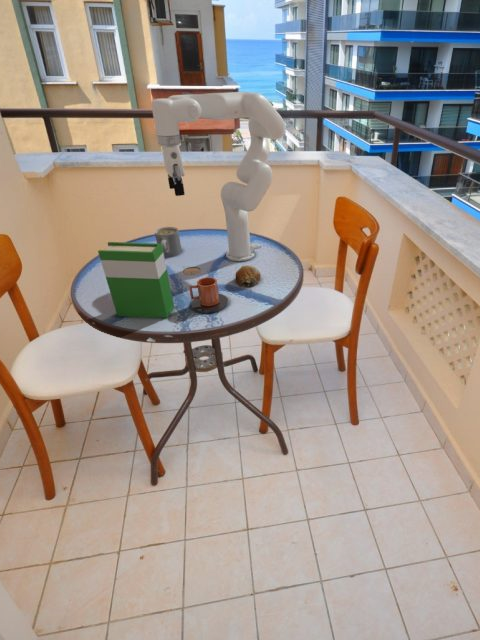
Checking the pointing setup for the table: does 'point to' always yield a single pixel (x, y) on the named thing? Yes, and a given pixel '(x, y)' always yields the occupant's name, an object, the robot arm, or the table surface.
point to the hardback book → (137, 279)
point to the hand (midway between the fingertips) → (177, 191)
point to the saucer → (210, 309)
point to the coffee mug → (169, 240)
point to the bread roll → (247, 276)
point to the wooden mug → (206, 291)
